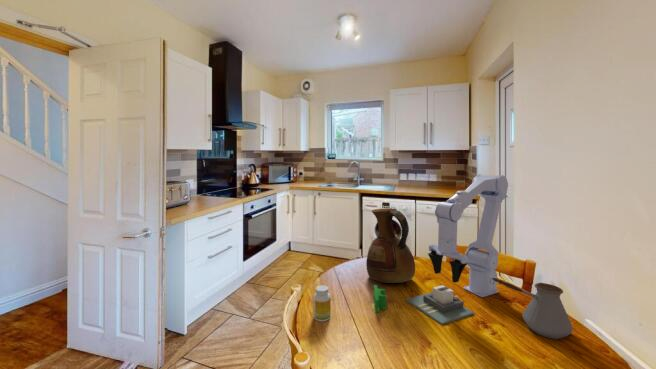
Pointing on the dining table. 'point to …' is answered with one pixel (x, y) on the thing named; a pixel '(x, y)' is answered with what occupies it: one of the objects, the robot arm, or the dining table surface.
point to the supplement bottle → (322, 303)
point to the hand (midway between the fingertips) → (446, 277)
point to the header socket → (440, 308)
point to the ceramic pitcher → (390, 250)
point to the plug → (443, 294)
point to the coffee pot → (545, 311)
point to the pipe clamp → (379, 299)
